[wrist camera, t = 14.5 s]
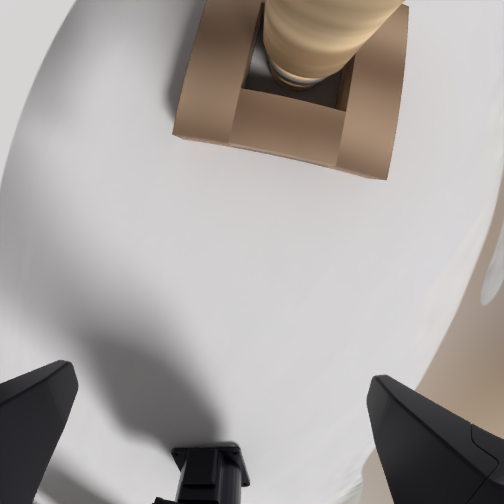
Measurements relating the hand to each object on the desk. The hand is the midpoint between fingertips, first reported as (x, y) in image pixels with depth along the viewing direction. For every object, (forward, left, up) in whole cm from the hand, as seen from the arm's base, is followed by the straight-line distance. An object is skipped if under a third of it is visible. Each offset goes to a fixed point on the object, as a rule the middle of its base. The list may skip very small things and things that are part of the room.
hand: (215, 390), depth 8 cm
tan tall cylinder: (+12, -6, -13) cm, 19 cm away
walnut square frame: (+12, -6, -13) cm, 19 cm away
